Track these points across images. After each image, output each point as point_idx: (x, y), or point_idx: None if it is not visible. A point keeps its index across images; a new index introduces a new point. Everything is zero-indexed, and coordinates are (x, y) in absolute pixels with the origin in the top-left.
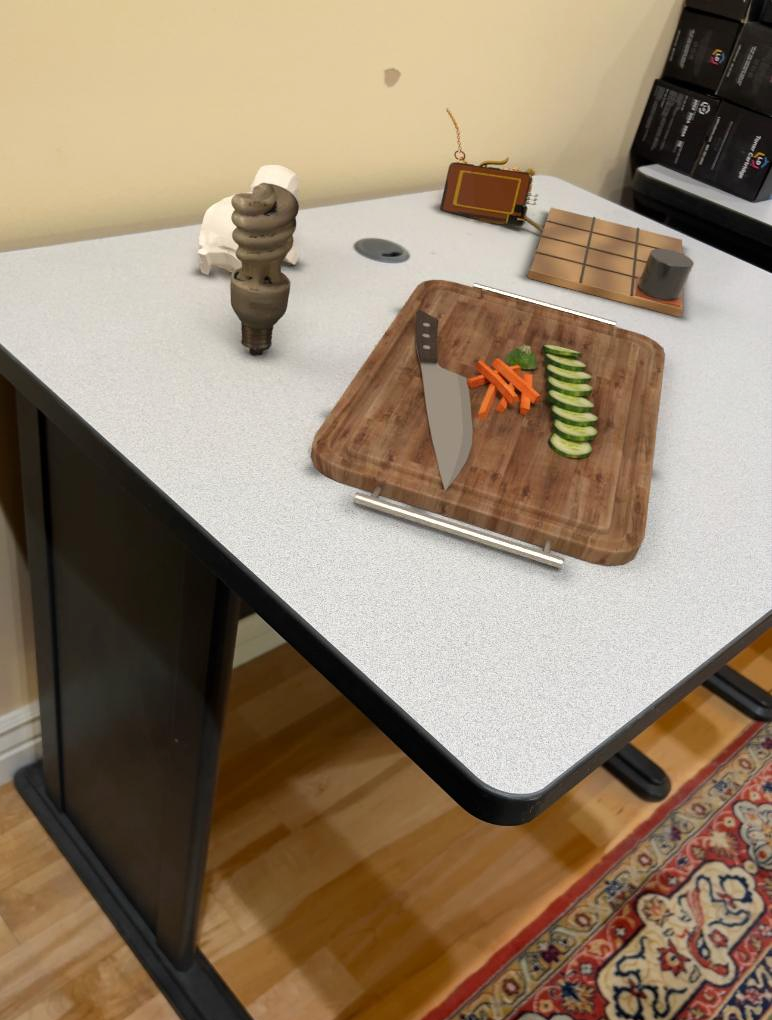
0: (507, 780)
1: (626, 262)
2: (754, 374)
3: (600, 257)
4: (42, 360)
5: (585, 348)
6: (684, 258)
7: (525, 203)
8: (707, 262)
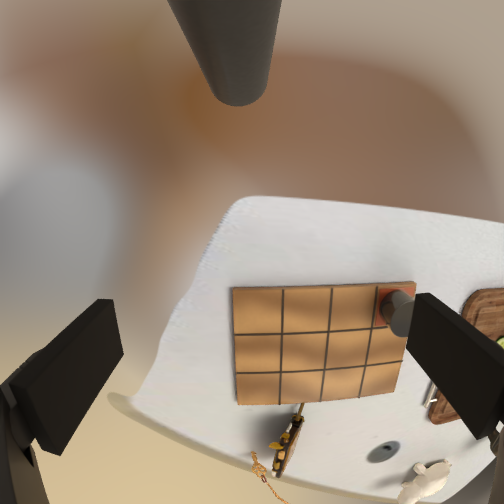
0: None
1: (340, 337)
2: (473, 224)
3: (341, 357)
4: (494, 456)
5: (490, 335)
6: (405, 309)
7: (295, 428)
8: (258, 256)
